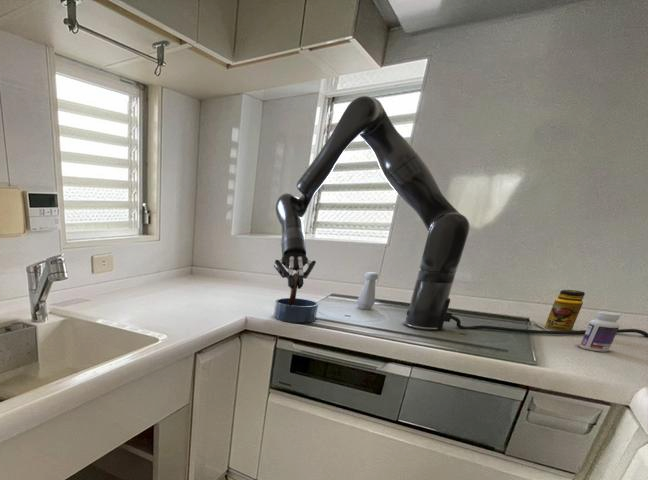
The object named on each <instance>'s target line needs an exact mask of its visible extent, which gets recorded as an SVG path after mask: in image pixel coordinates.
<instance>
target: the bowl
mask: <svg viewBox="0 0 648 480" xmlns="http://www.w3.org/2000/svg"><path fill="white" fill-rule="evenodd" d="M289 300H290V297H285V298H278V299H275V303H274V310H273V317H274V318H276V319H277V320H279V321H281V322H284V323H285V322H286V323H292V324H309V323H312V322H314V321H316V319H317V314H318V307H319V303H318V302H317V301H314V300H312V299H311V300H310V299H307V298H306V299H305V298H297V297H296V299H295V306H292V305H289Z"/></svg>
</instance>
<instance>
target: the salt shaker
mask: <svg viewBox="0 0 648 480" xmlns="http://www.w3.org/2000/svg"><path fill="white" fill-rule="evenodd" d="M364 279H365V282H364V284H363V286H362V289H361V291H360V293H359V296H358V298H357V300H356V303H357V306H358V309H361V310H371V309H372V308H373V306H374V305H375V302H376V280H378V279H379V273H377V272H375V271H374V272H373V271H368V272H366V273H365V274H364Z"/></svg>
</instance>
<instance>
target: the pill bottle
mask: <svg viewBox="0 0 648 480" xmlns="http://www.w3.org/2000/svg"><path fill="white" fill-rule="evenodd" d="M621 316H622V314H621V313H617V312H611V311H598V312H597V314H596V316H595V317H596V318H595V319H592V320H590V321H589V323H588V325H587V328H586V329H585V330H586V332H585V334H583V337H582V339H581V342H580V343H579V347H580V348H581V349H585V350H588V351H592V352H599V353H600V352H602V353H605V352H608V351H609V350H610V348H611V346H612V344H613V342H614V341H615V340H614V339H615V338H616V335H617V334H618V333H617V331H618V329H620V326H621V325H620V323H619V322H617V321H619V320H620V318H621Z"/></svg>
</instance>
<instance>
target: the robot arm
mask: <svg viewBox="0 0 648 480" xmlns="http://www.w3.org/2000/svg"><path fill="white" fill-rule="evenodd" d="M358 136H359V137H360V138H362V139H363V141H364V142H365V143H366V144H367V145H368V146H369V148H370V149H371V150H372V152H373V154H374V156H375V159H376V161H377V164H378V166H379V169H380V171H381V173H382V175H383V176H384V178H385V180H386V181H387V182H388V184H389V185H390V186H391V188H392V189H393V190H394V191H395V193H396V194H397V195H398V196H399V197H400V198H401V199H402V200H403V201H404V202H405V203H406V204H407V205H408V206H409V207H410V208H412V210H414V212H415V213H416V214H417V215H418V217H419V218H420V220H421V221H422V223H423V225H424V226H425V228H426V230H427V238H426V241H425V244H424V249H423V252H422V256H421V260H420V265H419V269H418V273H417V276H416V280H415V284H414V288H413V292H412V296H411V299H410V303H409V306H408V307H409V308H408V310H406V318H405V321H404V325H405V326H407V327H409V328H412V329H413V328H414V329H418V330H423V331H442V329H443V327H444V324H445V323H450V322H451V320H453V321H455V323H456V327H457V328H459V329H460V330H480V329H481V330H493V331H503V332H512V333H523V334H536V335H537V334H539V335H584V334H585V332H586V330H587V329H583V330H573V331H547V330H545V329H544V330H542V329H541V330H540V329H527V328H526V329H525V328H513V327H505V326H502V327H501V326H494V325H471V326H465V325H462V324H461V323H462V322H461V319H460V318H458V317H457V316H455V315H453V313H452V312H451V311H450V310H448V309H449V306H450V303H451V298H450V294H451V291H452V289H453V288H452V287H453V284H454V281H455V279H456V274H457V271H458V268H459V265H460V262H461V259H462V256H463V253H464V250H465V246H466V243H467V240H468V236H469V233H470V222H469V219H468V218H467V216H465V215H463V214H462V213H461V212H460V211H459V210H458V209H456V208H455V206H453V204H451V202H450V201H449V200H448V199H447V198H446V197H445V195H444V194H443V192H442V190H441V189H440V187H439V185H438V183H437V181H436V179H435V177H434V175H433V174H432V171H431V170H430V169H429V167H428V165H427V164H426V163H425V161H424V160H423V159H422V157H421V155H420V154H419V153H418V152H417V151H416V150H415V149H414V147H413V146H412V145H411V144H410V143H409V142H408V141H407V139H405V137H403V135H401V134H400V133H399V131H398V130H397V129H396V127H395V126H394V125H393V122H392V120H391V119H390V117H389V115H388V114H387V111H386V110H385V108H384V105H383V104H382V102H381V101H380V100H378V99H377V98H375V97H372V96H369V95H362V96H358V97H356V98H354V99H353V100H352V101H351V102H350V103H348V105H347V107H346V108H345V110H344V112H343V113H342V115H341V116H340V119H339V120H338V122H337V123H336V126H335V127H334V129H333V130H332V132H331V134H330V136H329V138H328V139H327V140H326V142H325V144H324V145H323V146H322V148H321V150H320V151H319V153H318V154H317V156H316V157H315V158H314V159H313V161H312V162H311V163H310V164H309V166H308V167H307V169H306V170H305V171H304V173H303V174H302V175H301V176H300V178H299V179H298V180H297V183H296V188H297V190H298V191H299V193H301V196H300V197H297V196H295V195H294V194H292V193H288V192H287V193H283V194H281V195H280V196H279V197H278V198H277V200H276V202H275V213H276V216H277V219H278V222H279V224H280V226H281V240H280V241H281V242H280V245H281V246H280V247H281V259H275V260H274V264H273V268H275V270H276V272H277V273H278V274H279V275H280V277H281V278H283V279H284V278H286V279H287V287H288V288H289V289H290V290H291V289H293V287H294V276H293V275H294V271H295V273H298V274H299V279H298V286H297V290H301V289H302V288H303V285H304V279H308V277H309V276H310V273H311V272H312V271H313V269H314V267H315V265H316V263H317V262H316V260H312V261H311V260H309V258H308V256H307V247H306V246H307V245H306V236H305V230H304V221H303V218H302V217H304V216H305V214H306V213H307V210H308V209H309V206H310V204H311V202H312V200H313V198H314V196H315V194H316V192H317V191H318V190H319V189H320V188H321V186H322V185H323V184H324V183H325V181H326V180H327V179H328V178H329V176H330V175H331V173H332V172H333V170H334V168H335V166H336V164H337V163H338V161H339V159H340V157H341V156H342V154H343V153H344V152H345V151H346V149H347V148H348V147H349V145H351V143H352V142H353V141H354V140H355V139H356V138H358ZM305 266H306V267H307V269H306V270H305V271H304V267H305ZM622 333H623V334H624V333H634V334H639V335H642V336H644V337H645V338H648V332H647V331H646V330H642V329H637V328H621V329H620V328H619V329H618V331H617V333H616V334H622Z"/></svg>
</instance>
